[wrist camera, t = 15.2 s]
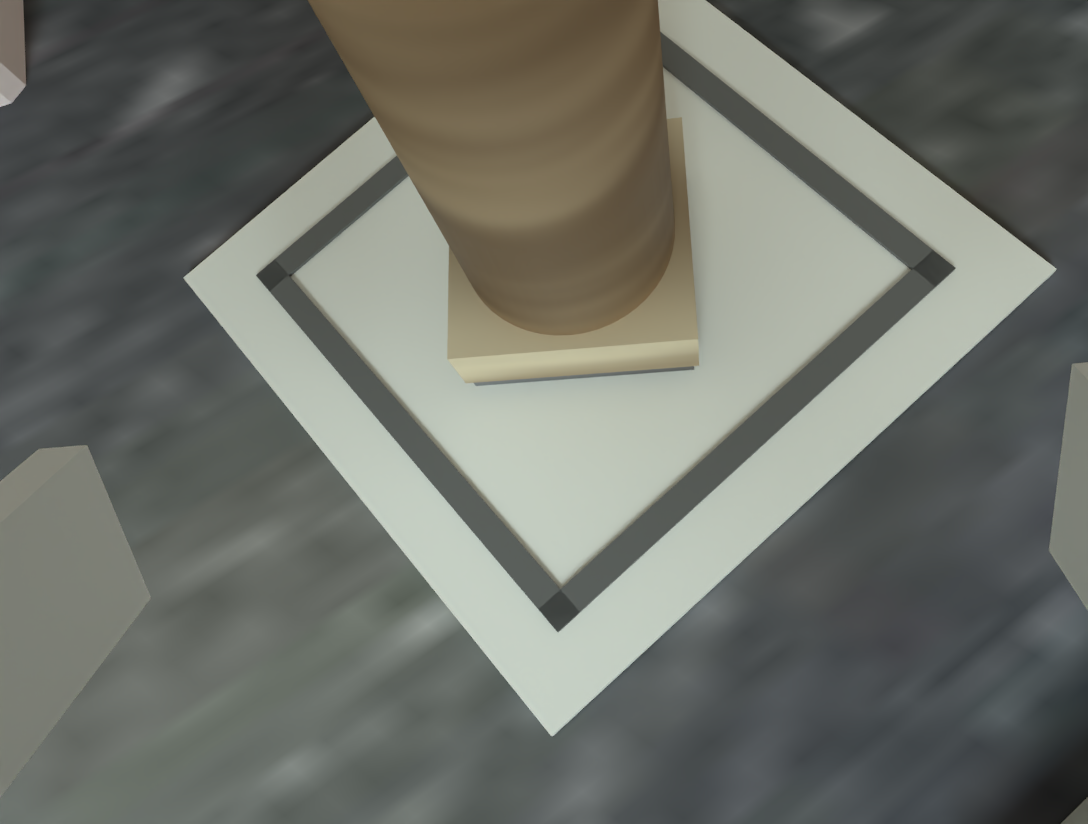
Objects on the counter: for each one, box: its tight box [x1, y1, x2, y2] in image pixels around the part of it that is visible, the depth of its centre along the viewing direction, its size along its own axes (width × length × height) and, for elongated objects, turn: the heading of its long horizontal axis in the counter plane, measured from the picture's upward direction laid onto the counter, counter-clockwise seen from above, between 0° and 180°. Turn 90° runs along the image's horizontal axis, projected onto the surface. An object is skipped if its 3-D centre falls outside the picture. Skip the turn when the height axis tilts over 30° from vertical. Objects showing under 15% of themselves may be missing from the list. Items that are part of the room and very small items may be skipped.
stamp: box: [308, 0, 699, 386], centre depth 16 cm, size 5×5×11 cm
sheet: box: [184, 0, 1056, 736], centre depth 21 cm, size 14×14×1 cm
